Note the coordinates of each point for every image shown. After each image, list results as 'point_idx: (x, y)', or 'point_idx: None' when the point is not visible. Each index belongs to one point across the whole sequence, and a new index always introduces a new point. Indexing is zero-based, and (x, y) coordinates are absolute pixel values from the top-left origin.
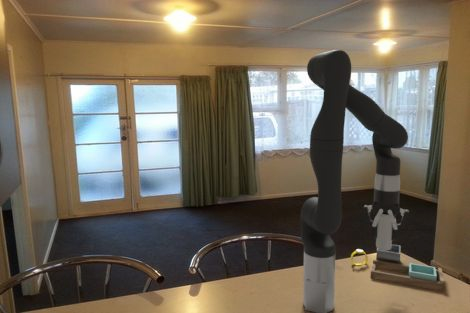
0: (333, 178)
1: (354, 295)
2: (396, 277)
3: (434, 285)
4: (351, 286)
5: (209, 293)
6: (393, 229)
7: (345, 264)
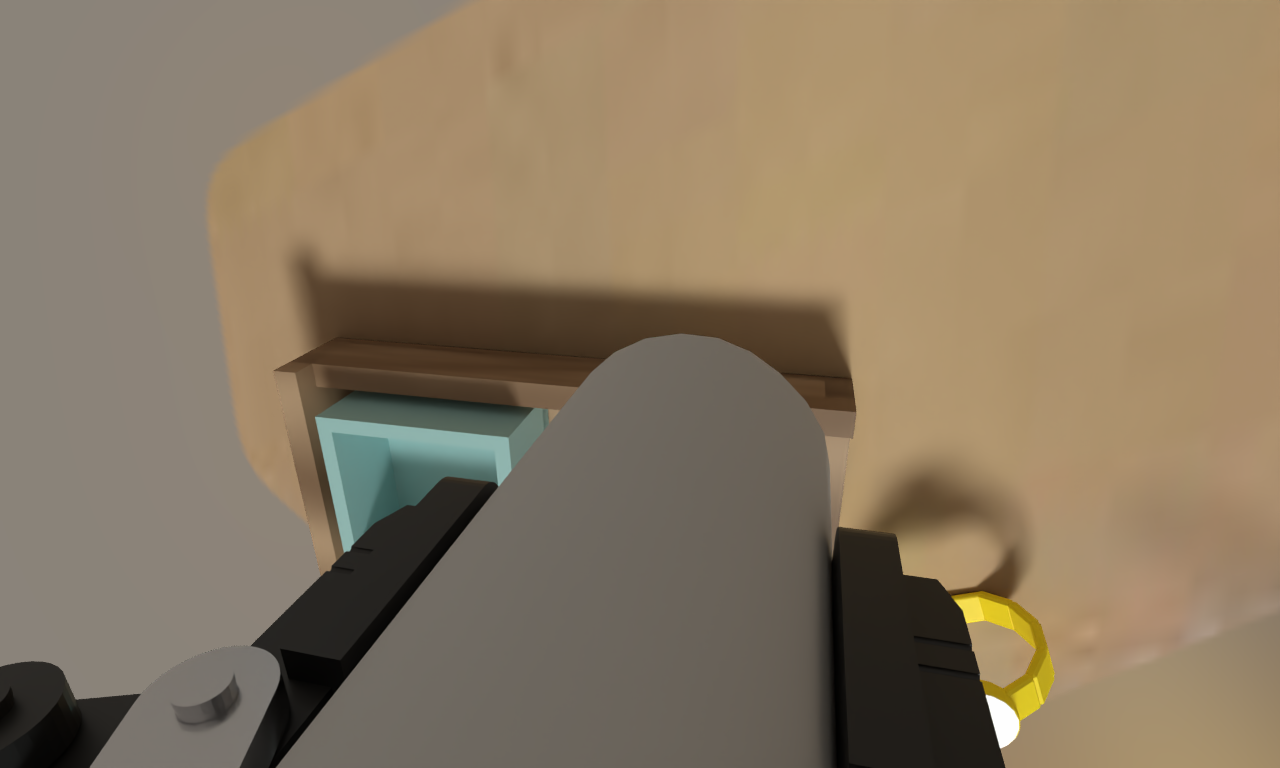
0: None
1: None
2: None
3: (362, 358)
4: (1054, 171)
5: None
6: (323, 680)
7: (1082, 593)
